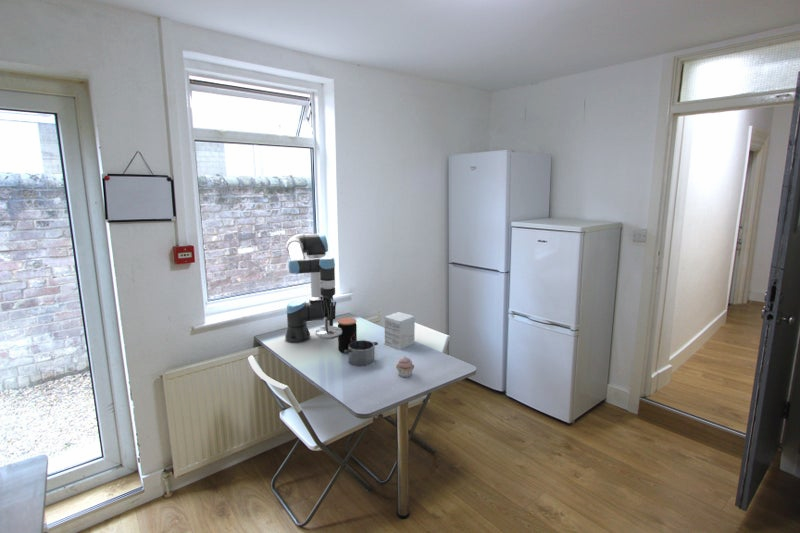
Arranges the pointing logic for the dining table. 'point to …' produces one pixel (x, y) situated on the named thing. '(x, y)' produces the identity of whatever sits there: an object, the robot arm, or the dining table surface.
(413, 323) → the supplement box
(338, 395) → the dining table surface
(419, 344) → the dining table surface
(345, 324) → the coffee jar
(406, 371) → the cupcake
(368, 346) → the pot
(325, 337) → the lid
